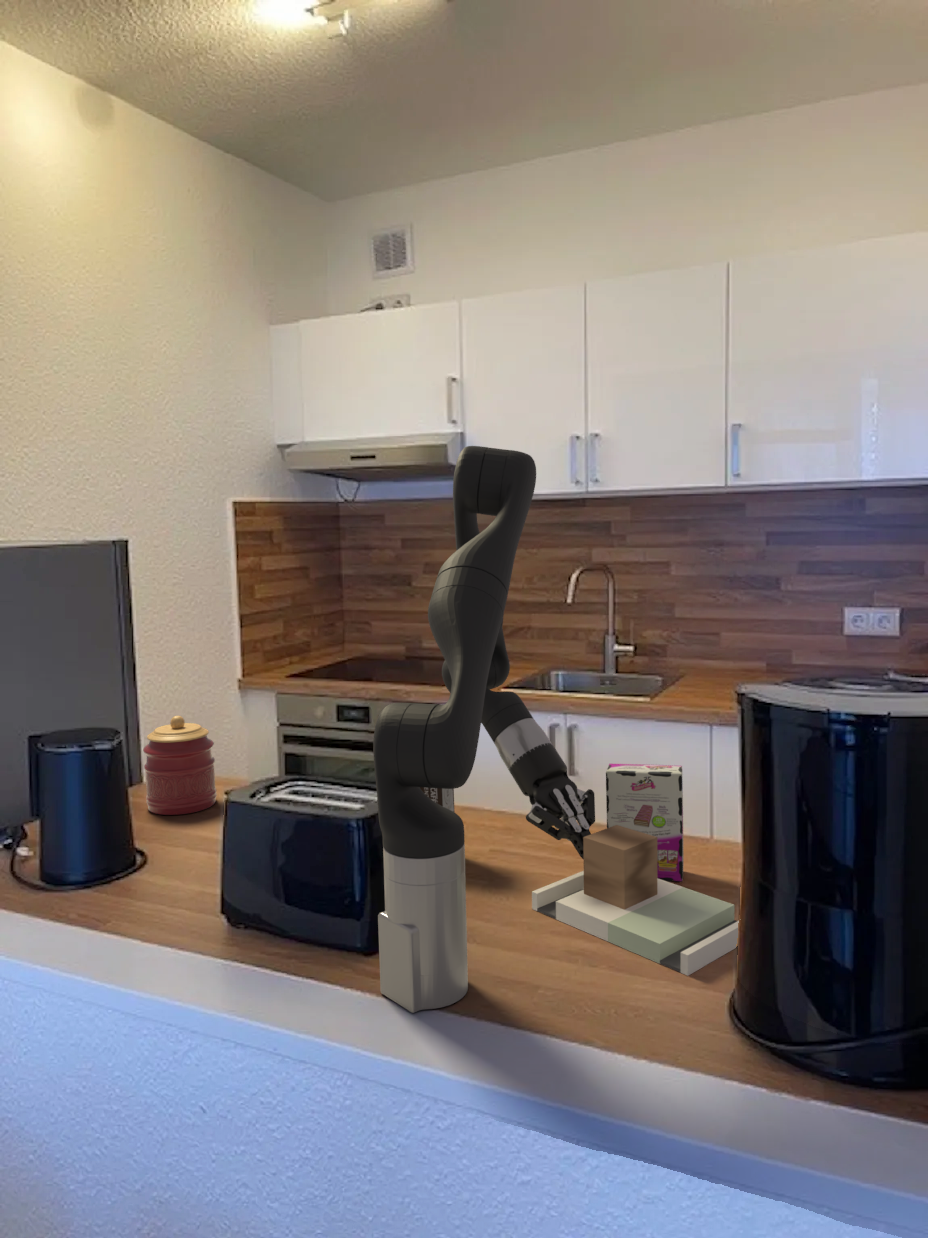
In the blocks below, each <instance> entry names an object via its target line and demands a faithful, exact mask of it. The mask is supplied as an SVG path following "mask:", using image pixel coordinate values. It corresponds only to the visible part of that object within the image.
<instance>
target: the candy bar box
mask: <svg viewBox="0 0 928 1238" xmlns="http://www.w3.org/2000/svg"><path fill="white" fill-rule="evenodd" d="M683 782H684V781H683V765H670V764H668V765H667V764H638V763H635V764H634V763H609V764H608V767H607V768H606V772H605V793H606V794H605V796H606V797H605V798H606V803H605V804H606V829H607V828H610V827H612V826H615V825H619V826H622V827H625V828H629V829H632V830H635V831H639V832H642V833H645V834H649V835H652V836H655V837H657V878H658V879H661V880H664V881H667V882H683V880H684V879H683V878H684V797H683V796H684V795H683V793H684V791H683V787H684V786H683V785H684V784H683Z"/></svg>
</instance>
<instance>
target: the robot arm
mask: <svg viewBox="0 0 928 1238" xmlns="http://www.w3.org/2000/svg"><path fill="white" fill-rule="evenodd" d="M456 460H457V461H456V464H455V467H454V470H453V471H454V473H453V479H452V480H453V482H452V483H453V484H452V503H453V505H452V506H453V520H454V522H453V524H454V534H455V535H454V536H455V549H456V551H454V552H453V553H452V554H451V555H450V556H449V557H448V558H447V559H446V560H445V561H444V563H442V565H441V567H440V569H439V571H438V574H437V577H436V580H435V584H434V586H433V589H432V594H431V595H430V596H431V597H430V600H429V603H428V608H427V620H428V624H429V628H430V630H431V631H430V632H431V633H432V636H433V638H434V641H435V643H436V644H437V647H438V649H439V650H440V653H441V655H442V657H443V659H444V661H443V663H442V667H441V677H442V680H443V683H444V685H445V687H446V689H447V690H448V692H449V693H450V694H449V697H448V699H447V701H446V702H445V703H444V704H438V703H417V702H416V703H414V702H413V703H412V702H392V703H390V704H387V705H386V706H385V707H384V708H382V710H381V711H380V713H379V715H378V716H377V719H376V722H375V726H374V731H373V732H374V733H373V743H372V746H373V749H372V750H373V752H372V753H373V765H374V776H375V786H376V799H377V810H378V811H377V813H378V814H377V815H378V822H379V823H378V824H379V827H380V831H381V836H382V847H383V848H382V850H383V851H382V853H383V854H382V855H383V856H382V858H383V885H384V911H381V912H379V913H378V915H377V925H378V926H377V927H378V931H377V933H378V954H379V956H378V957H379V977H380V978H379V983H380V984H379V986H380V993H381V994H382V995H383V996H385V997H387V998H388V999H390V1000H391V1001H393V1002H395V1003H396V1004H397V1005H399V1006H401V1007H402V1008H403V1009H405V1010H406V1011H408V1012H410V1013H412V1014H413V1013H417V1012H419V1011H421V1010H422V1011H423V1010H433V1009H440V1008H445V1007H448V1006H451V1005H453V1004H454V1003H458V1002H459V1001H460V1000H461V999H463V998H464V996H466V994H467V992H468V990H469V980H468V979H469V975H468V973H469V971H468V967H469V966H468V934H467V933H468V931H467V927H468V926H467V899H466V898H467V892H466V891H467V889H466V852H465V851H466V849H465V847H466V846H465V845H466V844H465V825H464V821H463V819H462V817H461V816H460V815H458V813H456V812H453V811H451V810H449V809H447V808H445V807H443V806H441V805H439V804H437V803H436V802H434V801H433V800H431V799H430V798H429V797H428V796H426V795H425V794H424V792H423V791H422V790H421V789H420V787H425V788H442V789H454V790H455V789H459V788H461V787H463V786H464V785H465V784H466V783H467V781H468V779H469V777H470V776H471V773H472V772H473V767H474V764H475V760H476V756H477V753H478V752H477V751H478V745H479V741H480V740H479V738H480V731H481V724H482V726H483V727H484V729H485V731H486V732H487V734H488V736H489V737H490V739H491V740H492V742H493V743H494V745H495V747H496V749H497V752H498V754H499V757H500V758H501V761H502V762H503V763H504V765H505V766H506V769H507V770H508V772H509V773H510V775H511V776H512V778H513V780H514V781H515V783H516V785H517V786H518V788H519V789H520V791H521V793H522V795H523V796H526V797H528V798H529V802H530V804H531V808H530V811H529V812H528V813H527V814H526V815H525V819H526V821H527V822H528V823H530V824H532V825H533V826H535V827H537V828H538V829H540V830H541V831H542V832H544V833H546V834H547V835H549V836H551V837H553V838H554V839H556V840H557V841H561V840H562V839H565V840H567V841H569V842H571V844H572V846H573V847H574V849H575V850H576V852H577V853H578V856H579V857H580V858H581V859H582V860H583V861H584V857H583V837H585V836H588V835H590V834H592V833H591V831H590V828H591V826H592V825H593V824H594V823H596V805H595V803H596V801H595V791H594V790H592V789H587V790H586V791H584V790H581V789H579V788H578V786H577V785H576V783H575V782H574V781H573V780H572V779H570V778H569V776H568V766H567V764H566V763H565V761H564V760H563V758H562V757H561V756H560V754H559V752H558V751H557V749H556V748H555V745H553V743H552V742H551V740H550V738H549V737H548V735H547V734H546V732H545V731H544V729H543V728H542V727H541V726H540V724H538V723H537V721H536V720H535V719H534V717H533V716H532V713H531V712H530V711H529V709H528V708H527V706H526V705H525V703H524V701H523V700H522V698H521V697H520V696H519V695H518V694H517V693H515V692H513V691H495V690H493V689H495V688H498V687H501V686H502V685H503V684H504V683H505V682H506V681H507V679H508V677H509V674H510V669H511V665H510V659H509V655H508V651H507V646H506V641H505V636H504V631H503V626H504V625H503V624H504V614H505V610H506V609H505V608H506V605H507V600H508V594H509V590H510V585H511V579H512V573H513V570H514V569H513V568H514V564H515V558H516V554H517V550H518V546H519V542H520V539H521V536H522V533H523V529H524V526H525V523H526V520H527V517H528V513H529V511H530V507H531V504H532V501H533V500H532V499H533V497H534V493H535V488H536V482H537V466H536V463H535V462H536V461H535V460H534V458H533V457H532V455H530V454H528V453H526V452H522V451H519V450H513V449H503V448H495V447H494V448H493V447H488V446H479V445H467V446H464V447H463V448H462V450H461V451H460V452H459V454H458V456H457V459H456ZM477 514H479V515H486V516H492V517H495V518H494V519H493V521H491V523H490V524H489V525H488V526H487V527H486V528H484V529H483V530H482V531H481V532H480V529H479V524H478V515H477Z"/></svg>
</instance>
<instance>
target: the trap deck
mask: <svg viewBox="0 0 928 1238" xmlns="http://www.w3.org/2000/svg"><path fill="white" fill-rule="evenodd" d="M735 907H736V906H735V904H733V903H732V902H727V901H726V900H725V901H724V900H722V899H719V898H717V897H713V896H710V895H707V894H704V893H702V892H699V891H696V890H692V889H690V888H687V887H684V886H681V885H679V884H676V883H675V884H674V883H673V882H671V881H664V880H661V879H658V878H657V895H655V896H653V897H651V898H649V899H646V900H644V901H642V902H640V903H638V904H636V905H633V906H631V907H629V908H627V909H625V910H624V909H621V908H619V907H616V906H614V905H611V904H608V903H606V902H603V901H601V900H598V899H596V898H593V897H590V896H588V895H585V894H584V870H582V871H579V872H576V873H574V874H571V875H569V876H567V877H564V878H562V879H559V880H557V881H555V882H552V883H550V884H546V885H545V886H541V887H539V888H537V889H535V890H533V891H531V909H532V910H534V911H536V912H539V913H541V914H543V915H545V916H548V917H549V918H552V919H554V920H557V921H559V922H561V923H563V924H566V925H569V926H571V927H573V928H576V929H578V930H580V931H582V932H585V933H587V934H589V935H592V936H595V937H596V938H598V939H602V940H603V941H605V942H608V943H611V944H613V945H615V946H617V947H620V948H623V949H624V950H626V951H629V952H631V953H634V954H636V955H638V956H640V957H643V958H645V959H648V960H650V961H653V962H654V963H657V964H659V965H661V966H664V967H666V968H669V969H671V970H674V971H676V972H677V973H680V974H683V975H685V976H690V975H691V974H693V973H695V972H697V971H698V970H700V969H702V968H704V967H705V966H707V965H708V964H709V965H710V964H711V963H712V962H714V961H716V960H718V959H719V958H721V957H723V956H724V955H726V954H727V953H729V952H731V951H733V950H735V949H736V944H737V938H738V923H739V920H735Z"/></svg>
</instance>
